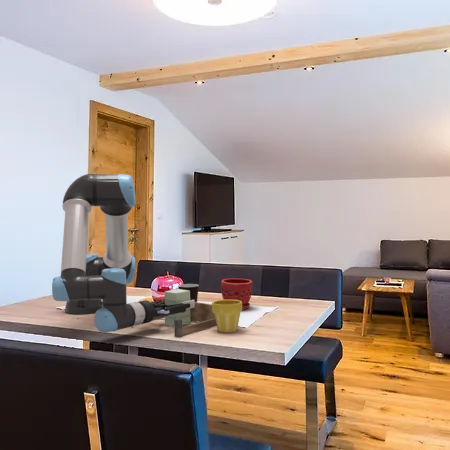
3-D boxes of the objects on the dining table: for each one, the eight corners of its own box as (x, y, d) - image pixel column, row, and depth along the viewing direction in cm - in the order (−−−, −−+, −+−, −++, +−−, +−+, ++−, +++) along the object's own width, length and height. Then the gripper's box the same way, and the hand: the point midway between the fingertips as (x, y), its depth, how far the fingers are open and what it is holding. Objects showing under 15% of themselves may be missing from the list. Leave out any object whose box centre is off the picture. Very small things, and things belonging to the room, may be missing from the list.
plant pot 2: (211, 327, 162) (211, 299, 162) (240, 326, 163) (240, 298, 162) (213, 334, 151) (212, 305, 151) (244, 333, 152) (243, 304, 152)
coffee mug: (196, 311, 188) (195, 287, 188) (175, 310, 190) (175, 286, 190) (203, 306, 199) (202, 283, 199) (183, 305, 201) (183, 282, 201)
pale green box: (164, 324, 166) (164, 291, 166) (178, 321, 171) (178, 289, 171) (176, 327, 162) (176, 293, 162) (190, 323, 167) (190, 290, 167)
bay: (126, 325, 165) (125, 306, 165) (168, 315, 181) (168, 297, 181) (178, 337, 148) (178, 315, 148) (219, 325, 164) (219, 305, 164)
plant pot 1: (216, 310, 190) (216, 281, 190) (228, 304, 202) (228, 277, 202) (246, 312, 185) (246, 283, 185) (256, 306, 197) (256, 278, 197)
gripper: (120, 320, 159) (169, 309, 177) (158, 328, 147) (206, 316, 165) (120, 298, 159) (169, 290, 176) (158, 305, 147) (206, 295, 164)
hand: (187, 302), depth 170 cm, fingers closed on pale green box, 6 cm apart
